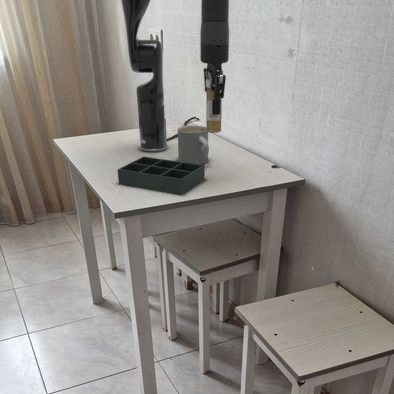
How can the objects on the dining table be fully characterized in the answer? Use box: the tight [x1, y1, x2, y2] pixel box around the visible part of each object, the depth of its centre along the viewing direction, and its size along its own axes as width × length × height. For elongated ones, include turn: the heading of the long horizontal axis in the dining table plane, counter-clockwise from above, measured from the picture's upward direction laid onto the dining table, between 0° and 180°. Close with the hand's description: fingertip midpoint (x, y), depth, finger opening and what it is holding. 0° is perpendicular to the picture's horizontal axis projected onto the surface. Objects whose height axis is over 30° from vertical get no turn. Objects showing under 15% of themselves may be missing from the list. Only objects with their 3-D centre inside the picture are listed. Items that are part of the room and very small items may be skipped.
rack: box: [116, 156, 206, 196], centre depth 143 cm, size 15×22×4 cm
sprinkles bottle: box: [205, 79, 223, 134], centre depth 135 cm, size 5×5×14 cm
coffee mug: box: [177, 124, 210, 165], centre depth 157 cm, size 13×10×10 cm
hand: (213, 112), depth 136 cm, fingers closed on sprinkles bottle, 4 cm apart
